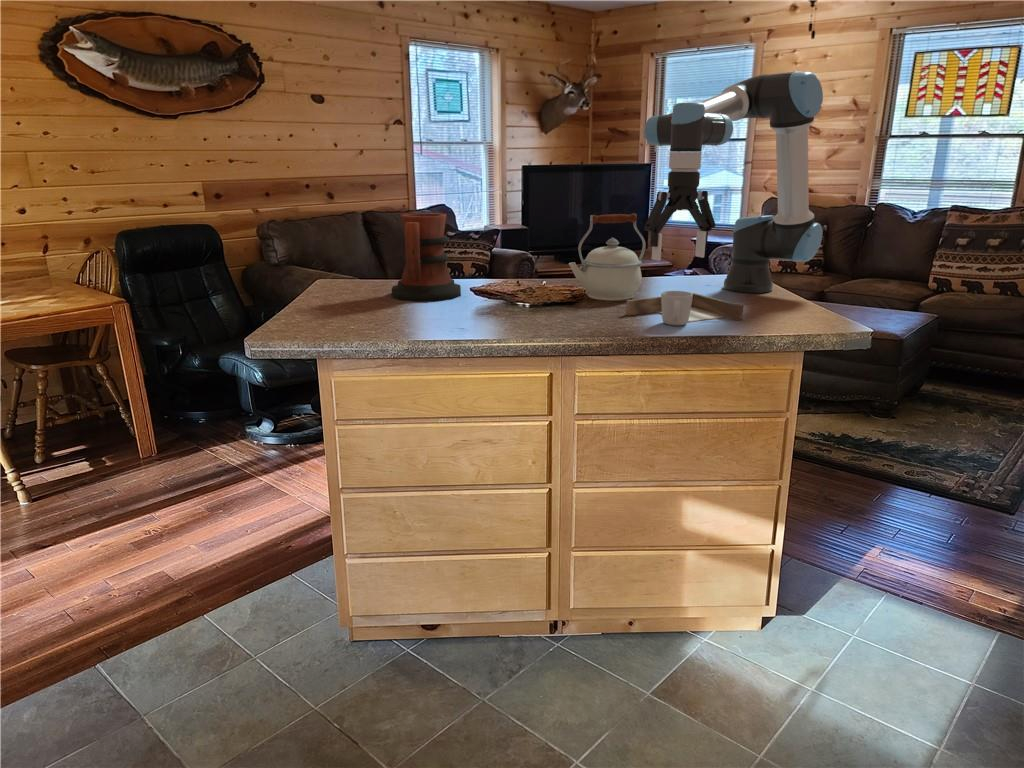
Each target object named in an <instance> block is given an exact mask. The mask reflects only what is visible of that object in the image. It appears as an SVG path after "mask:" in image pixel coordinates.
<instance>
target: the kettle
mask: <svg viewBox="0 0 1024 768" xmlns="http://www.w3.org/2000/svg"><path fill="white" fill-rule="evenodd" d="M628 222H631V223H633V228H634V230H635V232H636V233H637V235H638V236H639V238H640V239H641V241H642V249H641V253H640V255H639V257H638V256H637V255H638V254H636V252H635V251H633V250H631V249H629V248H626V247H623V246H619V244H620V242H619V240H617V239H616V238H614V237H611V238H609V239H608V240H606V242H605V244H606V245H607V246H600V247H596V248H594V249H592V250H591V251H590V252H588V254H587V256H586V257H585V259H584V258H583V255H582V246H583V243H584V241H585V240H586V238H588V236H589V235H590V233H591V232H592V230H593V226H594V225H595V224H597V223H599V224H618V223H619V224H621V223H628ZM646 244H647V243H646V240H645V238H644V236H643V235H642V233H641V232H640V230H639V228H638V227H637V214H636V213H635V212H634V213H633V212H631V214H623V213H619V214H618V213H617V214H616V213H612V214H601V215H596V214H592V215H590V218H589V228H588V230H587V231H586V233H584V235H583V236H582V238H581V239H580V241H579V244H578V247H577V249H578V255H579V256H578V257H579V258H580V261H581V262H580V263H581V265H580V266H578V265H577V264H576V262H575V261H574V262H573V261H572V262H569V263H568V265H569V267H570V269H571V270H572V273H573V275H574V277H575V278H576V279H577V281H578V282H579V283H580V284H582V287H583V288H584V289H585V290H586V292H588V293H587V297H588V298H590V299H593V300H598V301H609V302H610V301H611V302H617V301H627V300H632V299H633V298H634V297H635V294H634V293H635V292H637V290H638V289H639V288H640V286H641V285H642V280H643V279H642V270H641V266H642V265H643V262H642V260H643V256H645V255H644V254H645V251H646V249H647V248H646V247H647V245H646Z"/></svg>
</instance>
